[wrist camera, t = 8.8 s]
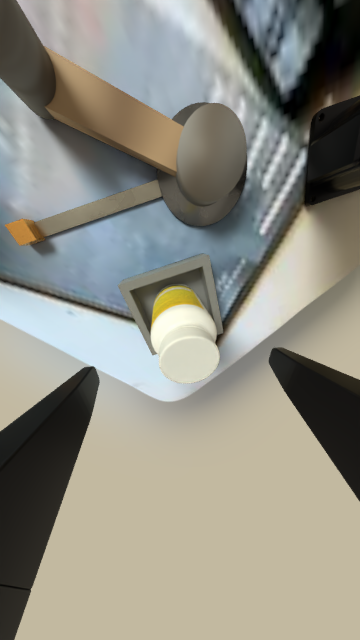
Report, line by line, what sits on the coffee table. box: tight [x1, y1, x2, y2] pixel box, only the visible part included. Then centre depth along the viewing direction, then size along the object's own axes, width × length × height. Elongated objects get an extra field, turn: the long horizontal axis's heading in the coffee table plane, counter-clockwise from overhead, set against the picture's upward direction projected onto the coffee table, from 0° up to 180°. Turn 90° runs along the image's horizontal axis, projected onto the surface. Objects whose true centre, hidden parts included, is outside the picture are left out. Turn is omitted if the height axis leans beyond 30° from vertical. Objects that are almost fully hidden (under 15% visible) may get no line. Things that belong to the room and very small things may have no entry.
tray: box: [118, 254, 224, 355], centre depth 18 cm, size 9×9×2 cm
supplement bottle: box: [151, 284, 220, 384], centre depth 14 cm, size 5×5×10 cm
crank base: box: [5, 102, 247, 246], centre depth 13 cm, size 21×8×1 cm, turn 107°
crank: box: [0, 0, 247, 207], centre depth 9 cm, size 16×5×5 cm, turn 72°
